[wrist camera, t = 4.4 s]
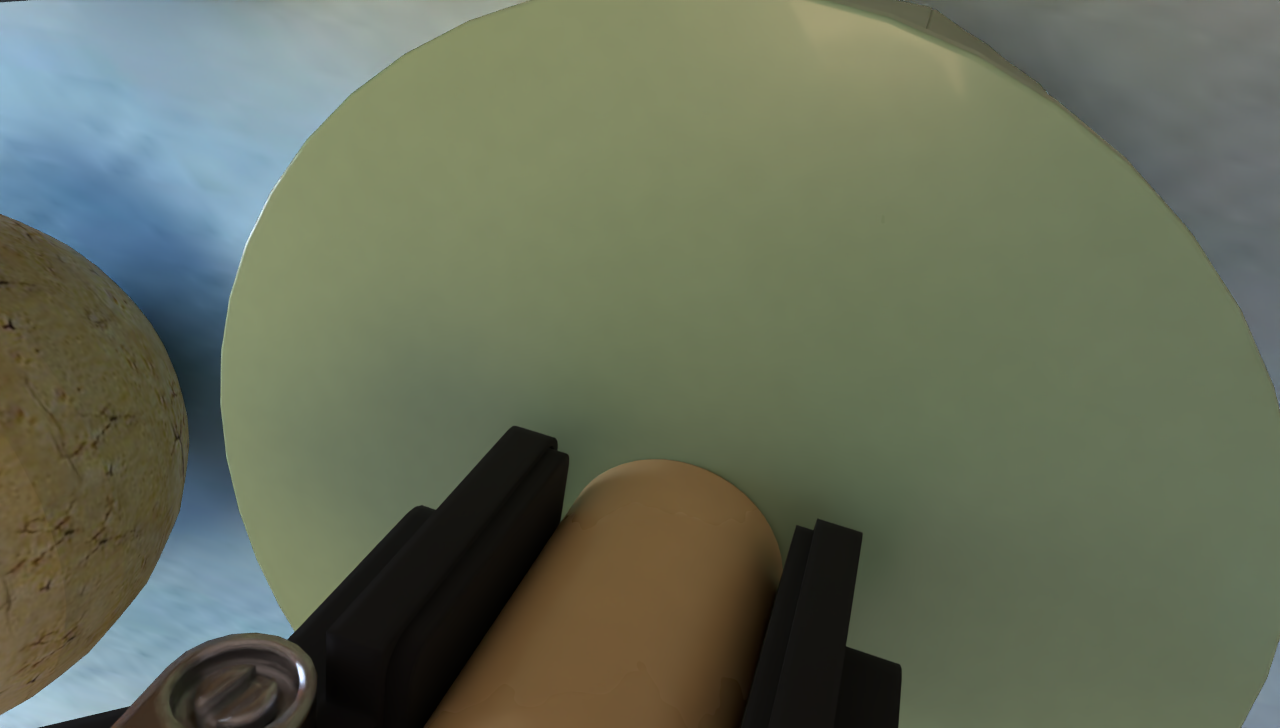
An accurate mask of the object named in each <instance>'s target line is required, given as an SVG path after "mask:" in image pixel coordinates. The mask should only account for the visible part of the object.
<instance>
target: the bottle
mask: <svg viewBox="0 0 1280 728" xmlns="http://www.w3.org/2000/svg"><path fill="white" fill-rule="evenodd" d="M11 1H26V0H0V2H11Z"/></svg>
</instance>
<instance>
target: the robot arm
mask: <svg viewBox="0 0 1280 728" xmlns="http://www.w3.org/2000/svg"><path fill="white" fill-rule="evenodd" d="M568 468H569V455H568V454H567V453H564V452H560V451H558V442H557V439H556V438H555V437H551V436H548V435H545V434H542V433H538V432H535V431H532V430H529V429H525V428H522V427H519V426H512V427H511V428H509V429H508V430H507V432H506V433H505V434H504V435H503V436H502V437H501V438H500V439H499V440H498V441H497V443H496V444H495V445H494V446H493V447H492V448H491V449H490V450H489V451H488V453H487V454H486V455H485V456H484V457H483V458H482V459H481V460H480V461H479V463H478V464H477V465H476V466H475V467H474V468H473V469H472V470H471V471H470V473H469V474H468V475H467V476H466V477H465V478H464V479H463V480H462V481H461V483H460V484H459V485H458V486H457V487H456V488H455V489H454V490H453V491H452V493H451V494H450V495H449V496H448V497H447V498H446V499H445V500H444V501H443V503H442V504H441V505H440V506H439V507H438V508H437V509H436V510H435V509H432V508H429V507H426V506H423V505H420V506H416V507H414V508H413V509H412V510H410V511H409V512H408V513H407V514H406V515H405V516H404V517H403V518H402V519H401V520H400V521H399V522H398V523H397V524H396V525H395V526H394V528H393V529H392V530H391V531H390V532H389V533H388V534H387V535H386V536H385V537H384V538H383V539H382V540H381V541H380V542H379V543H378V544H377V545H376V547H375V548H374V549H373V550H372V551H371V552H370V553H369V554H368V555H367V556H366V557H365V558H364V559H363V560H362V561H361V562H360V563H359V565H358V566H357V567H356V568H355V569H354V570H353V571H352V572H351V573H350V574H349V575H348V576H347V577H346V578H345V579H344V580H343V581H342V582H341V584H340V585H339V586H338V587H337V588H336V589H335V590H334V591H333V592H332V593H331V594H330V595H329V596H328V597H327V598H326V599H325V600H324V602H323V603H322V604H321V605H320V606H319V607H318V608H317V609H316V610H315V611H314V612H313V613H312V614H311V615H310V616H309V617H308V618H307V619H306V621H305V622H304V623H303V624H302V625H301V626H300V627H299V628H298V629H297V630H296V631H295V632H294V633H293V634H292V635H291V636H290V637H289V639H288V640H286V639H284V638H281V637H279V636H274V635H267V634H261V633H244V634H231V635H227V636H224V637H220V638H216V639H212V640H209V641H206V642H204V643H202V644H200V645H198V646H196V647H194V648H192V649H190V650H188V651H186V652H185V653H184V654H182V655H181V656H180V657H179V658H177V659H176V660H175V661H174V662H173V663H171V664H170V665H169V666H168V667H167V668H166V669H165V670H164V671H163V672H162V673H161V674H160V675H159V676H158V677H157V678H156V679H155V681H154V682H153V683H152V684H151V685H150V686H149V687H148V688H147V689H146V690H145V691H144V692H143V693H142V694H141V696H140V697H139V698H138V699H137V700H136V701H135V702H134V703H133V704H132V705H131V706H129V707H125V708H121V709H116V710H112V711H108V712H104V713H99V714H95V715H91V716H86V717H82V718H78V719H74V720H69V721H65V722H61V723H57V724H52V725H48V726H44V727H39V728H423V727H424V726H425V724H426V723H427V721H428V720H429V718H430V717H431V715H432V714H433V712H434V711H435V709H436V708H437V706H438V705H439V703H440V702H441V700H442V699H443V697H444V696H445V694H446V693H447V691H448V690H449V688H450V687H451V685H452V684H453V682H454V681H455V679H456V678H457V676H458V675H459V673H460V672H461V670H462V669H463V667H464V666H465V664H466V663H467V661H468V660H469V658H470V657H471V655H472V654H473V652H474V651H475V649H476V648H477V647H478V645H479V644H480V642H481V641H482V639H483V638H484V636H485V635H486V633H487V632H488V630H489V629H490V627H491V626H492V624H493V623H494V621H495V620H496V618H497V617H498V615H499V614H500V612H501V611H502V609H503V608H504V606H505V605H506V603H507V602H508V600H509V599H510V597H511V596H512V594H513V593H514V591H515V590H516V588H517V587H518V585H519V584H520V582H521V581H522V579H523V578H524V576H525V575H526V573H527V572H528V570H529V569H530V567H531V566H532V564H533V563H534V561H535V560H536V558H537V557H538V555H539V554H540V552H541V551H542V549H543V548H544V546H545V545H546V543H547V542H548V540H549V539H550V537H551V536H552V534H553V533H554V531H555V530H556V528H557V527H558V525H559V524H560V521H561V515H562V508H563V501H564V495H565V488H566V481H567V475H568ZM862 537H863V533H862V532H860V531H856V530H853V529H850V528H847V527H843V526H840V525H837V524H834V523H830V522H827V521H824V520H821V519H818V518H817V521H816V524H815V527H814V530H812V529H808V528H805V527H802V526H799V525H796V528H795V531H794V534H793V538H792V541H791V544H790V548H789V551H788V555H787V558H786V562H785V565H784V568H783V572H782V575H781V579H780V582H779V585H778V589H777V592H776V596H775V600H774V603H773V607H772V611H771V614H770V618H769V622H768V625H767V629H766V633H765V637H764V640H763V644H762V648H761V651H760V655H759V659H758V662H757V666H756V670H755V673H754V677H753V681H752V685H751V688H750V692H749V696H748V699H747V703H746V707H745V710H744V714H743V718H742V721H741V725H740V728H898V726H899V712H900V698H901V684H902V668H901V665H900V664H898V663H895V662H892V661H889V660H886V659H883V658H880V657H877V656H874V655H871V654H868V653H865V652H862V651H859V650H856V649H853V648H850V647H847V646H846V643H847V636H848V630H849V623H850V616H851V610H852V603H853V597H854V590H855V584H856V577H857V571H858V564H859V557H860V551H861V544H862Z"/></svg>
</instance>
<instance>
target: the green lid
mask: <svg viewBox="0 0 1280 728" xmlns="http://www.w3.org/2000/svg"><path fill="white" fill-rule="evenodd" d="M220 406H221V415H222V423H223V432H224V441H225V450H226V458H227V462H228V467H229V471H230V475H231V479H232V483H233V488H234V492H235V496H236V500H237V504H238V508H239V512H240V514H241V517H242V520H243V523H244V525H245V528H246V531H247V534H248V537H249V539H250V542H251V545H252V548H253V550H254V553H255V556H256V559H257V561H258V563H259V565H260V567H261V569H262V571H263V573H264V575H265V577H266V579H267V582H268V584H269V586H270V588H271V590H272V592H273V594H274V596H275V598H276V600H277V602H278V604H279V606H280V608H281V610H282V611H283V613H284V615H285V616H286V618H287V619H288V621H289V623H290V624H291V626H292V628H293V629H294V631H296V630H297V629H298V628H299V627H300V626H301V625H302V624H303V623H304V622H305V621H306V619H307V618H308V617H309V616H310V615H311V614H312V613H313V612H314V611H315V610H316V609H317V608H318V607H319V606H320V605H321V604H322V603H323V602H324V600H325V599H326V598H327V597H328V596H329V595H330V594H331V593H332V592H333V591H334V590H335V589H336V588H337V587H338V586H339V585H340V584H341V582H342V581H343V580H344V579H345V578H346V577H347V576H348V575H349V574H350V573H351V572H352V571H353V570H354V569H355V568H356V567H357V566H358V565H359V563H360V562H361V561H362V560H363V559H364V558H365V557H366V556H367V555H368V554H369V553H370V552H371V551H372V550H373V549H374V548H375V547H376V545H377V544H378V543H379V542H380V541H381V540H382V539H383V538H384V537H385V536H386V535H387V534H388V533H389V532H390V531H391V530H392V529H393V528H394V526H395V525H396V524H397V523H398V522H399V521H400V520H401V519H402V518H403V517H404V516H405V515H406V514H407V513H408V512H409V511H410V510H412V509H413V508H414V507H416V506H420V505H423V506H426V507H429V508H432V509H435V510H436V509H437V508H438V507H439V506H440V505H441V504H442V503H443V501H444V500H445V499H446V498H447V497H448V496H449V495H450V494H451V493H452V491H453V490H454V489H455V488H456V487H457V486H458V485H459V484H460V483H461V481H462V480H463V479H464V478H465V477H466V476H467V475H468V474H469V473H470V471H471V470H472V469H473V468H474V467H475V466H476V465H477V464H478V463H479V461H480V460H481V459H482V458H483V457H484V456H485V455H486V454H487V453H488V451H489V450H490V449H491V448H492V447H493V446H494V445H495V444H496V443H497V441H498V440H499V439H500V438H501V437H502V436H503V435H504V434H505V433H506V432H507V430H508V429H509V428H511V427H512V426H519V427H522V428H525V429H529V430H532V431H535V432H538V433H542V434H545V435H548V436H551V437H555V438H556V439H557V442H558V451H560V452H564V453H567V454H568V455H569V468H568V475H567V481H566V488H565V495H564V501H563V508H562V515H561V521H560V524H559V525H558V527H557V528H556V530H555V531H554V533H553V534H552V536H551V537H550V539H549V540H548V542H547V543H546V545H545V546H544V548H543V549H542V551H541V552H540V554H539V555H538V557H537V558H536V560H535V561H534V563H533V564H532V566H531V567H530V569H529V570H528V572H527V573H526V575H525V576H524V578H523V579H522V581H521V582H520V584H519V585H518V587H517V588H516V590H515V591H514V593H513V594H512V596H511V597H510V599H509V600H508V602H507V603H506V605H505V606H504V608H503V609H502V611H501V612H500V614H499V615H498V617H497V618H496V620H495V621H494V623H493V624H492V626H491V627H490V629H489V630H488V632H487V633H486V635H485V636H484V638H483V639H482V641H481V642H480V644H479V645H478V647H477V648H476V649H475V651H474V652H473V654H472V655H471V657H470V658H469V660H468V661H467V663H466V664H465V666H464V667H463V669H462V670H461V672H460V673H459V675H458V676H457V678H456V679H455V681H454V682H453V684H452V685H451V687H450V688H449V690H448V691H447V693H446V694H445V696H444V697H443V699H442V700H441V702H440V703H439V705H438V706H437V708H436V709H435V711H434V712H433V714H432V715H431V717H430V718H429V720H428V721H427V723H426V724H425V726H424V727H423V728H740V725H741V721H742V718H743V714H744V710H745V707H746V703H747V699H748V696H749V692H750V688H751V685H752V681H753V677H754V673H755V670H756V666H757V662H758V659H759V655H760V651H761V648H762V644H763V640H764V637H765V633H766V629H767V625H768V622H769V618H770V614H771V611H772V607H773V603H774V600H775V596H776V592H777V589H778V585H779V582H780V579H781V575H782V572H783V568H784V565H785V562H786V558H787V555H788V551H789V548H790V544H791V541H792V538H793V534H794V531H795V528H796V525H799V526H802V527H805V528H808V529H812V530H814V527H815V524H816V521H817V518H818V519H821V520H824V521H827V522H830V523H834V524H837V525H840V526H843V527H847V528H850V529H853V530H856V531H860V532H862V533H863V537H862V544H861V551H860V557H859V564H858V571H857V577H856V584H855V590H854V597H853V603H852V610H851V616H850V623H849V630H848V636H847V643H846V646H847V647H850V648H853V649H856V650H859V651H862V652H865V653H868V654H871V655H874V656H877V657H880V658H883V659H886V660H889V661H892V662H895V663H898V664H900V665H901V668H902V684H901V698H900V712H899V726H898V728H1241V727H1242V725H1243V723H1244V721H1245V719H1246V717H1247V715H1248V713H1249V711H1250V709H1251V708H1252V706H1253V704H1254V702H1255V700H1256V698H1257V696H1258V694H1259V692H1260V690H1261V689H1262V687H1263V685H1264V683H1265V681H1266V679H1267V677H1268V674H1269V670H1270V667H1271V664H1272V661H1273V658H1274V655H1275V651H1276V648H1277V645H1278V642H1279V639H1280V409H1279V405H1278V401H1277V397H1276V392H1275V388H1274V385H1273V383H1272V381H1271V378H1270V376H1269V374H1268V371H1267V369H1266V367H1265V365H1264V362H1263V360H1262V358H1261V355H1260V353H1259V351H1258V348H1257V346H1256V344H1255V341H1254V339H1253V337H1252V334H1251V332H1250V330H1249V327H1248V325H1247V323H1246V320H1245V318H1244V316H1243V313H1242V311H1241V309H1240V307H1239V306H1238V304H1237V303H1236V301H1235V300H1234V298H1233V297H1232V295H1231V293H1230V292H1229V290H1228V289H1227V287H1226V286H1225V284H1224V282H1223V281H1222V279H1221V278H1220V276H1219V275H1218V273H1217V271H1216V270H1215V268H1214V267H1213V265H1212V264H1211V262H1210V261H1209V259H1208V257H1207V256H1206V254H1205V253H1204V251H1203V250H1202V248H1201V246H1200V245H1199V243H1198V242H1197V240H1196V239H1195V237H1194V236H1193V234H1192V233H1191V232H1190V230H1189V229H1188V228H1187V227H1186V226H1185V224H1184V223H1183V222H1182V221H1181V220H1180V219H1179V217H1178V216H1177V215H1176V214H1175V213H1174V212H1173V211H1172V210H1171V208H1170V207H1169V206H1168V205H1167V204H1166V203H1165V202H1164V201H1163V199H1162V198H1161V197H1160V196H1159V195H1158V194H1157V193H1156V192H1155V190H1154V189H1153V188H1152V187H1151V186H1150V185H1149V184H1148V182H1147V181H1146V180H1145V179H1144V178H1143V177H1142V176H1141V175H1140V173H1139V172H1138V171H1137V170H1136V169H1135V168H1134V167H1133V166H1132V164H1131V163H1130V162H1129V161H1128V160H1127V159H1126V158H1125V157H1124V156H1123V155H1122V154H1121V153H1119V152H1118V151H1117V150H1116V149H1115V148H1113V147H1112V146H1111V145H1110V144H1109V143H1107V142H1106V141H1105V140H1104V139H1103V138H1101V137H1100V136H1099V135H1098V134H1097V133H1095V132H1094V131H1093V130H1092V129H1091V128H1089V127H1088V126H1087V125H1086V124H1085V123H1083V122H1082V121H1081V120H1080V119H1079V118H1077V117H1076V116H1075V115H1074V114H1073V113H1072V112H1070V111H1069V110H1068V109H1067V108H1066V107H1064V106H1063V105H1062V104H1061V103H1060V102H1058V101H1057V100H1056V99H1055V98H1053V97H1051V96H1050V95H1048V94H1046V93H1045V92H1043V91H1042V90H1040V89H1038V88H1037V87H1035V86H1033V85H1032V84H1030V83H1029V82H1027V81H1025V80H1024V79H1022V78H1020V77H1019V76H1017V75H1016V74H1014V73H1012V72H1011V71H1009V70H1007V69H1006V68H1004V67H1002V66H1001V65H999V64H998V63H996V62H994V61H993V60H991V59H989V58H988V57H986V56H985V55H983V54H981V53H980V52H978V51H976V50H974V49H972V48H970V47H967V46H965V45H963V44H960V43H958V42H956V41H953V40H951V39H949V38H946V37H944V36H942V35H939V34H937V33H935V32H933V31H930V30H928V29H926V28H923V27H921V26H919V25H916V24H914V23H912V22H909V21H907V20H905V19H903V18H900V17H898V16H896V15H893V14H890V13H887V12H883V11H879V10H876V9H872V8H868V7H865V6H861V5H857V4H854V3H850V2H847V1H843V0H529V1H526V2H523V3H520V4H517V5H514V6H511V7H508V8H505V9H502V10H499V11H496V12H493V13H490V14H487V15H484V16H481V17H478V18H475V19H472V20H469V21H467V22H465V23H463V24H461V25H460V26H458V27H456V28H454V29H452V30H450V31H448V32H446V33H444V34H442V35H440V36H438V37H436V38H434V39H433V40H431V41H429V42H427V43H425V44H423V45H421V46H419V47H417V48H415V49H413V50H411V51H409V52H407V53H406V54H404V55H403V56H401V57H400V58H399V59H397V60H396V61H395V62H393V63H392V64H391V65H389V66H388V67H387V68H385V69H384V70H383V71H381V72H380V73H379V74H377V75H376V76H375V77H373V78H372V79H371V80H369V81H368V82H366V83H365V84H364V85H362V86H361V87H360V88H358V89H357V90H356V91H354V92H353V93H352V94H351V95H350V96H349V97H348V98H347V99H346V100H345V101H344V102H343V103H342V104H341V105H340V106H339V107H338V108H337V109H336V110H335V111H334V112H333V113H332V114H331V115H330V116H329V117H328V118H327V119H326V120H325V121H324V122H323V123H322V125H321V126H320V127H319V128H318V129H317V130H316V131H315V132H314V133H313V134H312V135H311V136H310V137H309V138H308V139H307V140H306V142H305V143H304V144H303V146H302V147H301V149H300V150H299V152H298V153H297V154H296V156H295V157H294V159H293V160H292V162H291V163H290V165H289V166H288V167H287V169H286V170H285V172H284V173H283V175H282V176H281V177H280V179H279V180H278V182H277V183H276V185H275V186H274V188H273V189H272V191H271V192H270V195H269V197H268V199H267V201H266V203H265V205H264V207H263V209H262V211H261V213H260V215H259V217H258V219H257V221H256V223H255V226H254V228H253V230H252V232H251V234H250V236H249V238H248V240H247V242H246V245H245V248H244V251H243V254H242V258H241V261H240V264H239V267H238V271H237V274H236V277H235V281H234V284H233V287H232V290H231V294H230V297H229V303H228V310H227V316H226V323H225V329H224V336H223V343H222V349H221V398H220Z"/></svg>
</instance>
